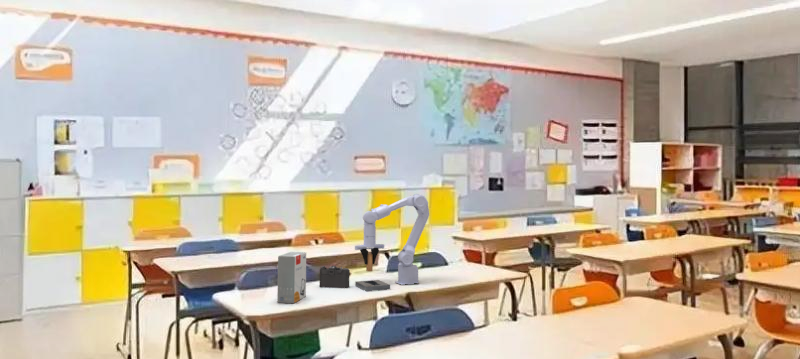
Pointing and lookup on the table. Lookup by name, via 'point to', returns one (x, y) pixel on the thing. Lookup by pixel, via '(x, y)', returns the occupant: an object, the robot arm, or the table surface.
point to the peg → (370, 263)
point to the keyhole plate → (369, 285)
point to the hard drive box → (291, 277)
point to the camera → (334, 277)
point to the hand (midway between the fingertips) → (369, 264)
